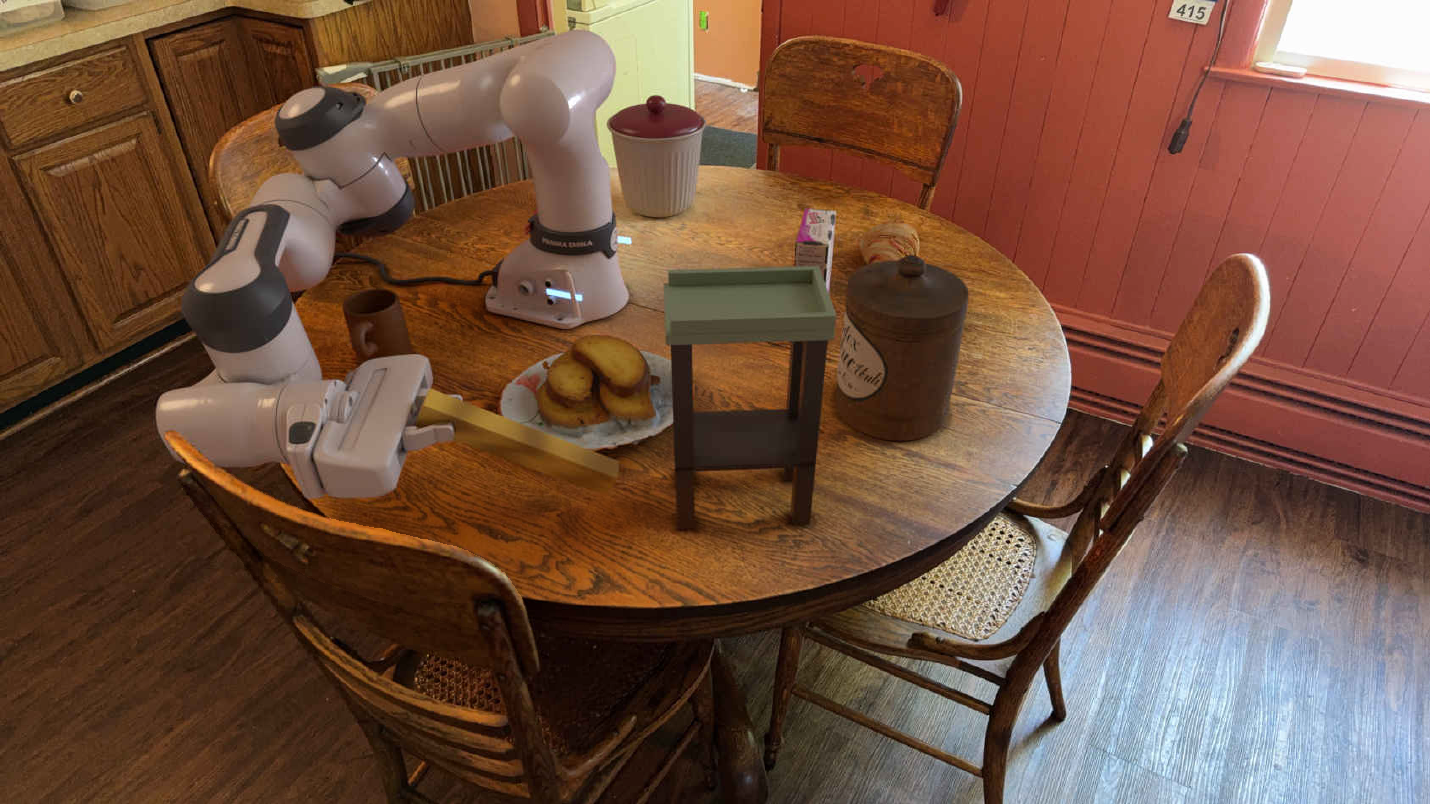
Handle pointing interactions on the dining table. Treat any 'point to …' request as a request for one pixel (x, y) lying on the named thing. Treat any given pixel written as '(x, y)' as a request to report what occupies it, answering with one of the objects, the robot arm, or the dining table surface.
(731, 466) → the stand
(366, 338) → the mug
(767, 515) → the dining table surface
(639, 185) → the canister
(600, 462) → the batten
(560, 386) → the food on plate
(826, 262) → the candy bar box
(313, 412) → the robot arm
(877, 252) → the croissant
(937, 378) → the wooden container
